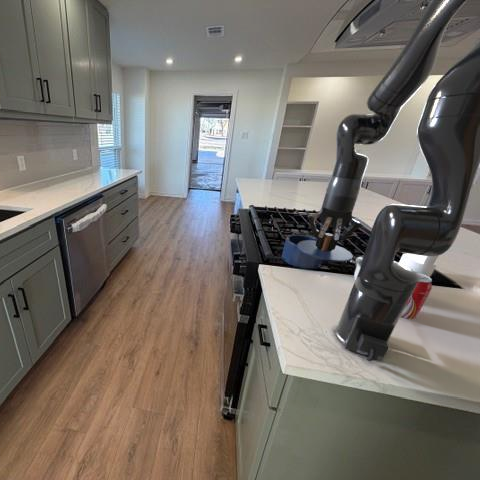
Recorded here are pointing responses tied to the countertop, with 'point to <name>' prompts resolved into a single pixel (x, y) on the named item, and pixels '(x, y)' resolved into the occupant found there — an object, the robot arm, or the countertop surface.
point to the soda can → (418, 296)
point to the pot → (299, 253)
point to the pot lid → (325, 250)
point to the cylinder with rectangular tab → (419, 263)
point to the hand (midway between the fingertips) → (324, 248)
